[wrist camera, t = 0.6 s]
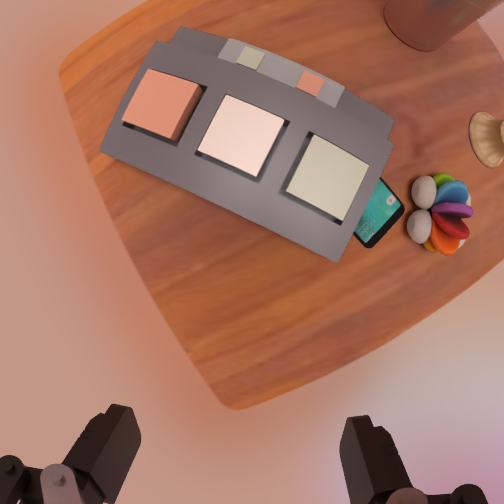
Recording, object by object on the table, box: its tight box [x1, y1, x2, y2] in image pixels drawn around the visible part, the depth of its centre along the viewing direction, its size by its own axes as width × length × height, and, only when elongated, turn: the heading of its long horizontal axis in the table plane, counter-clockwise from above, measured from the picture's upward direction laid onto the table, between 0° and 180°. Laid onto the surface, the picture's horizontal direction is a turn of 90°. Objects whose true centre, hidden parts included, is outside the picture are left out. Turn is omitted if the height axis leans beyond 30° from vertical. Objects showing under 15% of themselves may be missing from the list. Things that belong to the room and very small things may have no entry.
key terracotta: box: [121, 69, 203, 142], centre depth 26 cm, size 6×6×2 cm
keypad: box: [99, 26, 395, 263], centre depth 28 cm, size 18×28×4 cm, turn 64°
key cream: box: [198, 95, 285, 178], centre depth 26 cm, size 6×6×2 cm
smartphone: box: [353, 177, 405, 248], centre depth 31 cm, size 7×1×15 cm
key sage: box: [284, 135, 369, 221], centre depth 27 cm, size 6×6×2 cm
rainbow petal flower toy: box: [407, 173, 473, 256], centre depth 28 cm, size 8×10×7 cm
